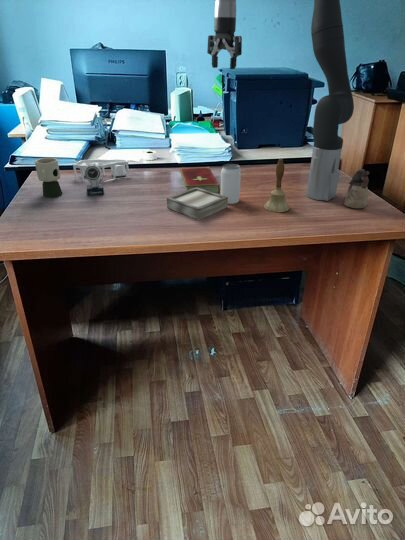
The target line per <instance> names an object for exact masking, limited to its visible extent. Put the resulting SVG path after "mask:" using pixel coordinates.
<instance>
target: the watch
mask: <svg viewBox="0 0 405 540" xmlns="http://www.w3.org/2000/svg"><path fill="white" fill-rule="evenodd" d="M100 174H101V175H103V172H102V171H101V172H100V171H99V169H98V167H97V165H95V163H91V164H88V166H87V169H86V171H85V175H86V176H85V177H86V180H87V182H88V183H89V184H87V185H86V192H87V196H98V195H99V196H100V195H104V194H105V192H104V191H105V190H104V183H100V182H99V181H100V179H99V177H100ZM98 183H99V184H98Z"/></svg>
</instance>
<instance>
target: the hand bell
mask: <svg viewBox="0 0 405 540" xmlns="http://www.w3.org/2000/svg"><path fill="white" fill-rule="evenodd" d="M284 173H285V163H284V159H283V158H279V159H278V161H277V164H276V167H275V176H276V184H275V189H273V190H271V192H270V196H269V199H268V201H267V202H266V203H265V204H264V205H263V207H264V210H266V211H268V212H270V213H271V212H272V213H285V212H288V211H289V210H290V205H289V204H288V203H287V200H286V192H285V191H284V190H282V182H283V181H282V179H283V176H284Z"/></svg>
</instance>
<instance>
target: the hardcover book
mask: <svg viewBox="0 0 405 540" xmlns="http://www.w3.org/2000/svg"><path fill="white" fill-rule="evenodd" d="M179 169H180V175H181V176H180V177H181V180H182V182H183V185H184V186H183V187H184V189H185V191H187V190H190V189H193V188H195V187H197V188H200V189H204V190H207V191H210V192H213V193H216V194H220V192H221V187H220V184H219V183H218V181H217V179H216V177H215V175H214V173H213V172H212V170H211V167H209V166H206V167H205V166H203V167H202V166H201V167H180V168H179Z"/></svg>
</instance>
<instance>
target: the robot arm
mask: <svg viewBox="0 0 405 540" xmlns="http://www.w3.org/2000/svg"><path fill="white" fill-rule="evenodd" d="M313 2H314V5H313V12H312V19H311V27H310V32H311V42H312V50H313V54H314V58H315V59H316V62H317V64H318V65H319V68H320V69H321V70H322V73H323V75H324V76H325V77H324V78H325V80H326V82H327V83H326V84H327V90H328V95H325V96H322V97H321V98H320V99H319V100H318V101H317V104H316V106H315V110H314V116H313V127H312V138H313V145H312V146H313V147H312V153H311V161H310V167H309V173H308V174H309V175H308V180H307V187H306V194H305V195H306V196H307V197H308V198H310V199H312V200H315V201H316V200H317V201H326V202H329V201H331V200H332V199H335V197H336V196H337V195H336V194H337V190H338V186H339V185H338V184H339V180H340V179H339V178H340V173H341V170H340V169H339V166H340V162H341V161H340V160H341V155H342V150H343V146H344V139H343V137H341V136H339V125H342V124H345V123H348V121H350V120H351V118H352V116H353V114H354V108H355V103H354V97H353V94H352V93H353V92H352V88H351V84H350V78H349V71H348V65H347V64H348V63H347V55H346V45H345V35H344V24H343V19H342V18H343V17H342V16H343V15H342V10H341V8H342V7H341V2H340V0H313ZM213 18H214V23H213V28H214V29H213V31H214V34H212V35H208V37H207V51H206V52H207V54H208V55H210V56H211V66H212V69H213V68H214V69H217V68H218V66H219V65H218V64H219V63H218V61H219V56H218V55H219V53H220V52H221V51H222V50H225V51H226V50H227V52H228V54H229V55H230V59H229V70H235V69H236V68H237V60H238V59H237V58H238V57H239V56H241V55H242V53H243V51H242V50H243V48H242V47H243V45H242V44H243V38H242V36H241V35H235V32H236V28H237V27H236V26H237V0H215V5H214V17H213Z"/></svg>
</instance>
